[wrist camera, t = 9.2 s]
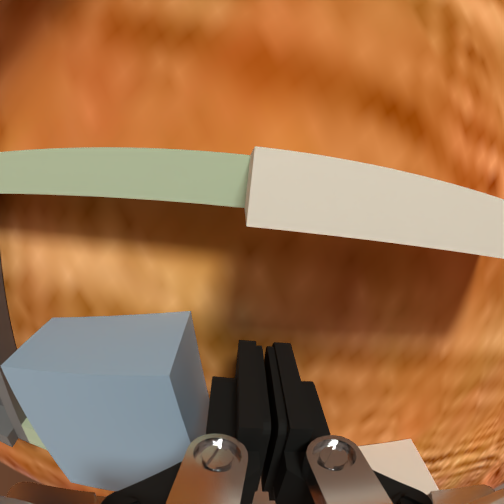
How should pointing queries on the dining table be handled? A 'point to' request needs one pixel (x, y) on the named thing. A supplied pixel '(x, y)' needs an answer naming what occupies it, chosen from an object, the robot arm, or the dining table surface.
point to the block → (112, 394)
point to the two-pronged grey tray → (265, 224)
